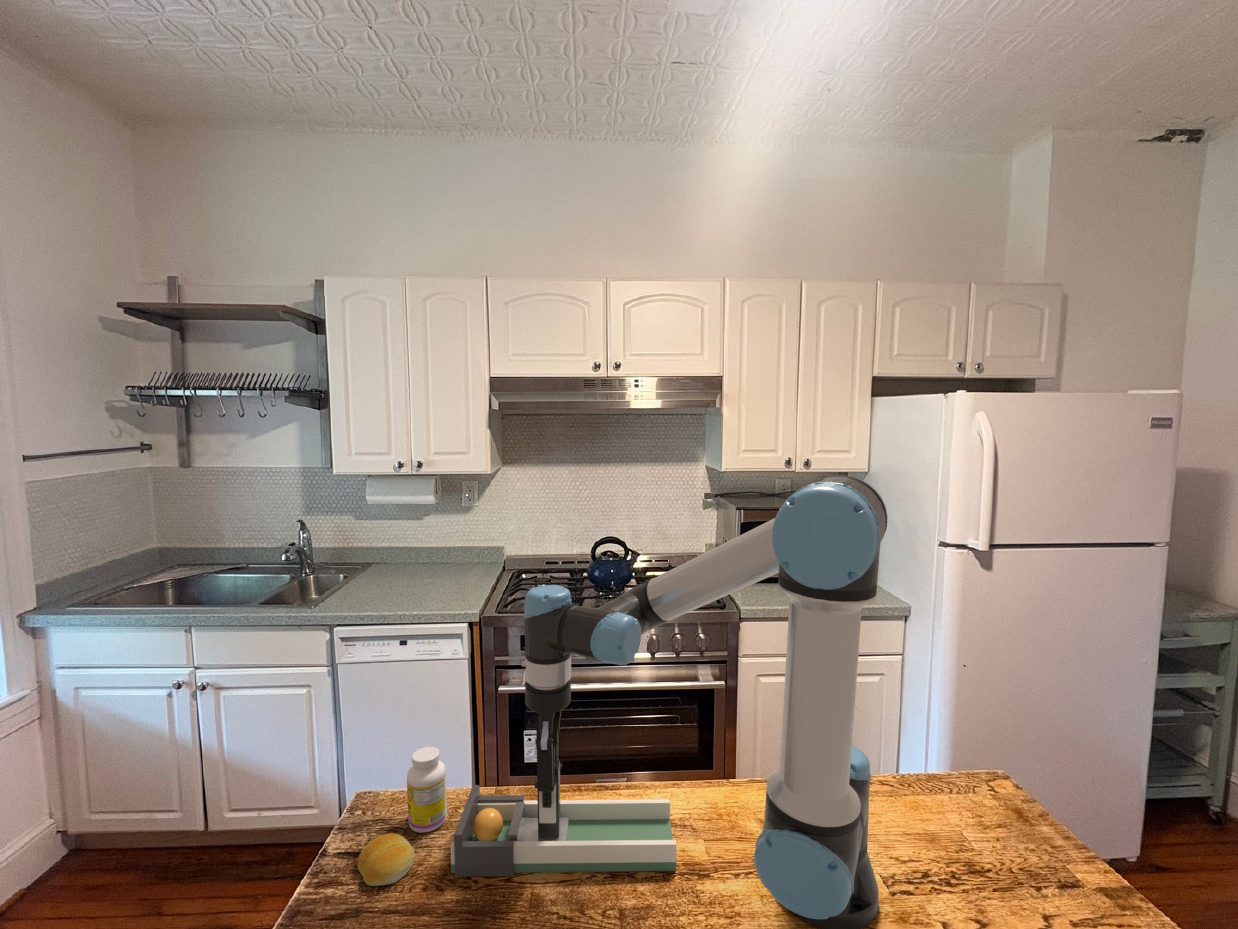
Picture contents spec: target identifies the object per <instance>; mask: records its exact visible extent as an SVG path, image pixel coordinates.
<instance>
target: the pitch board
mask: <svg viewBox="0 0 1238 929" xmlns="http://www.w3.org/2000/svg"><path fill="white" fill-rule="evenodd" d="M524 802H525V818H538V799H537V800H533V799H532V800H530V799H529V800H526V799H525V801H524ZM515 805H516V802H509V803H478V813H479V812H480V811H482V810H483V809H486V808H494V809H496V810H497V811H498V812H499V813H500V814H501V816H502V819H503V828H502V831H501V833H500V835H499V836H498V837H497V838H496V839H495V840H494V841H508V833H509V829H510V825H511V821H512V817H513V813H514V809H515ZM560 817H569V825H568V834H567V841H514V846H513V849H514V873H567V872H568V873H592V872H594V873H596V872H597V873H598V872H605V873H606V872H607V873H608V872H611V873H613V872H676V871H677V840H676V839H674V838H673V831H672V824H671V801H670V799H668V798H667V799H665V798H662V799H658V798H655V799H568V800H567V799H560ZM471 841H479V840H478V839H477V838H476V837H475V835H474V834H473V837H472V840H471ZM450 870H451V871H450V872H451V873H450V874H455V854H454V841H452V842H451V844H450Z"/></svg>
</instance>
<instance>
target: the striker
mask: <svg viewBox="0 0 1238 929" xmlns="http://www.w3.org/2000/svg"><path fill="white" fill-rule="evenodd" d="M560 763H561V759H558V760H555V783H556V823H539V792H538V791H537V800H538V818H525V802H516V805H515V809H514V813H513V817H512V821H511V825H510V829H509V833H508V841H567V834H568V825H569V817H560V800H561V769H560ZM536 782H538V781H537V780H536Z"/></svg>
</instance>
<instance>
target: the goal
mask: <svg viewBox="0 0 1238 929" xmlns="http://www.w3.org/2000/svg"><path fill="white" fill-rule="evenodd" d="M480 793H481V792H480V784H474V785H472V786H471V788H470V792H469V793H468V794H469V795H468V797H467V799H466V803H465V804H464V808H463V810H462V813H461V816H460V818H459V820H458V824H457V826H456V829H455V831H454V834H453V842H454V854H455V873H454V877H457V878H458V877H513V876H514V874H515V872H514V849H513V846H514V841H471V840H472V837H473V834H474V833H473V822H474V819H475V817H476V816H477V814H478V803H509V802H524V801H526V799H525V795H523V794H518V795H516V794H515V795H514V794H513V795H505V794H504V795H481V794H480Z"/></svg>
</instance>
